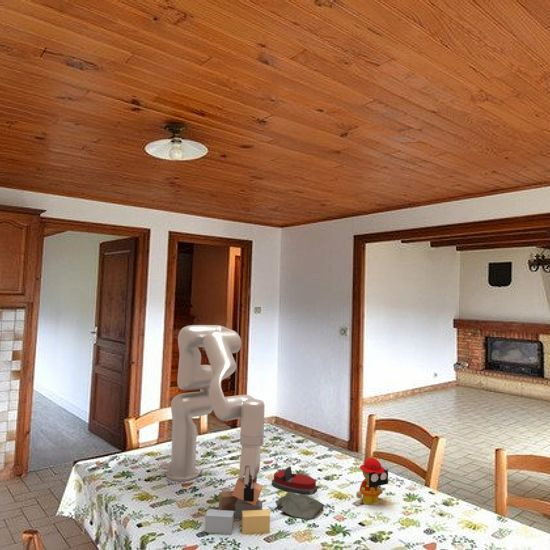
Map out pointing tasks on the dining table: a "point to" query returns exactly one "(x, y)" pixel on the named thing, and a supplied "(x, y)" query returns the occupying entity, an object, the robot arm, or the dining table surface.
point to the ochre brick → (255, 521)
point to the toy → (372, 481)
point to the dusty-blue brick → (219, 521)
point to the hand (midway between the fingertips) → (250, 497)
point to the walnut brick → (227, 501)
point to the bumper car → (293, 481)
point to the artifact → (299, 505)
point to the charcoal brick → (245, 507)
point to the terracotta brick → (239, 490)
